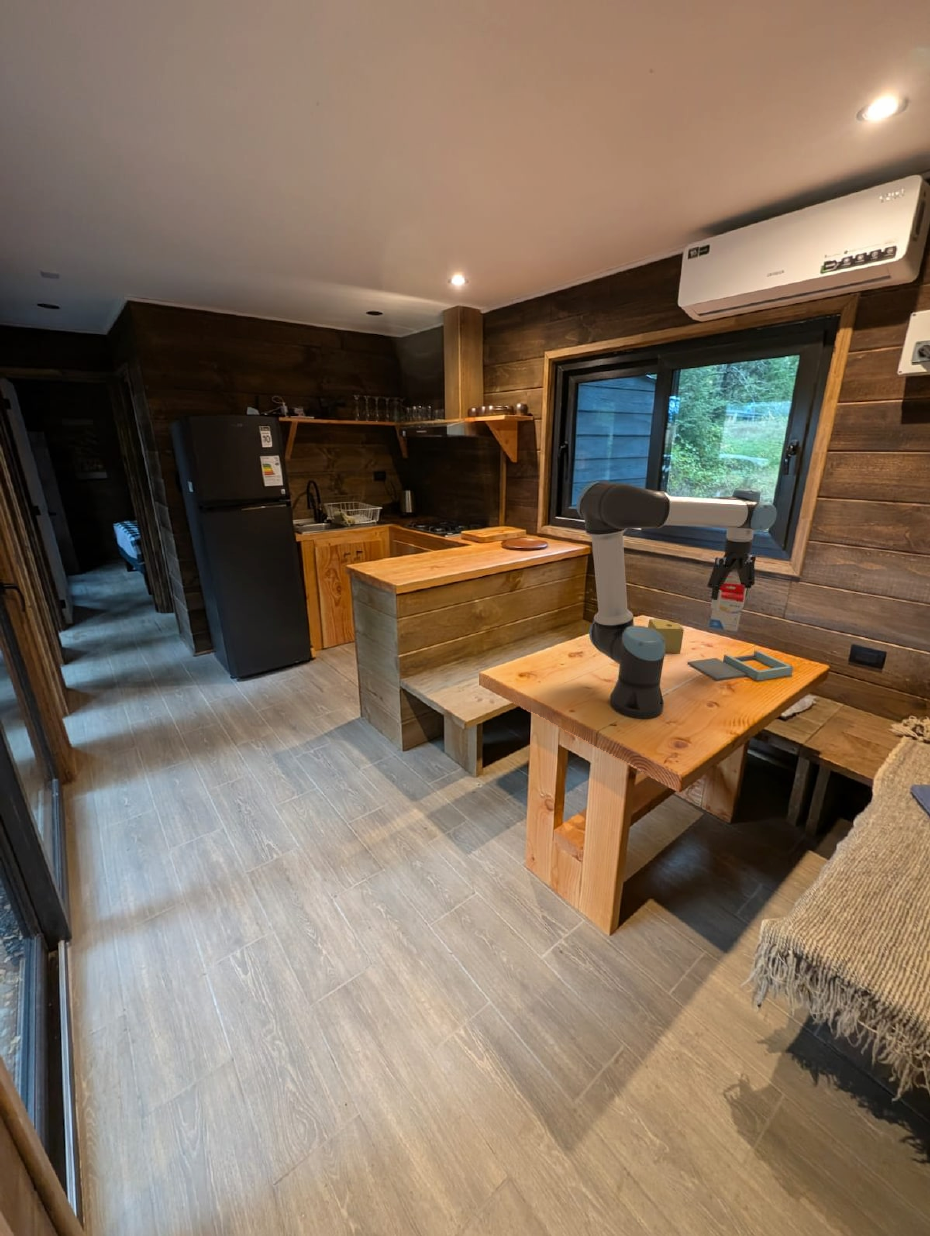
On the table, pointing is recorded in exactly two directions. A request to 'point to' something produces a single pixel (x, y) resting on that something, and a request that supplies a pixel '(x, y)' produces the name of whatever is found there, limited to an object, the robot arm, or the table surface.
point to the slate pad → (716, 669)
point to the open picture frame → (777, 670)
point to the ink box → (728, 608)
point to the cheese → (669, 634)
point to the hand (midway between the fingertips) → (727, 607)
